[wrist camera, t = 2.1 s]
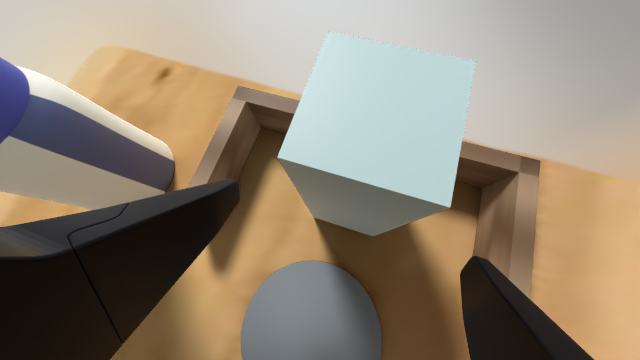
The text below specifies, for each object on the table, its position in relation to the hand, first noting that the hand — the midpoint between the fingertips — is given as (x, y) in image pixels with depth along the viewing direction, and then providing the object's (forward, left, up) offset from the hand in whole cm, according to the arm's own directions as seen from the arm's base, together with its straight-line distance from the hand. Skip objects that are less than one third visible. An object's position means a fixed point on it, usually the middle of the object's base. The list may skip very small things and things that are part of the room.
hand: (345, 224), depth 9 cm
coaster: (-4, -6, -10) cm, 13 cm away
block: (+2, +3, -10) cm, 11 cm away
